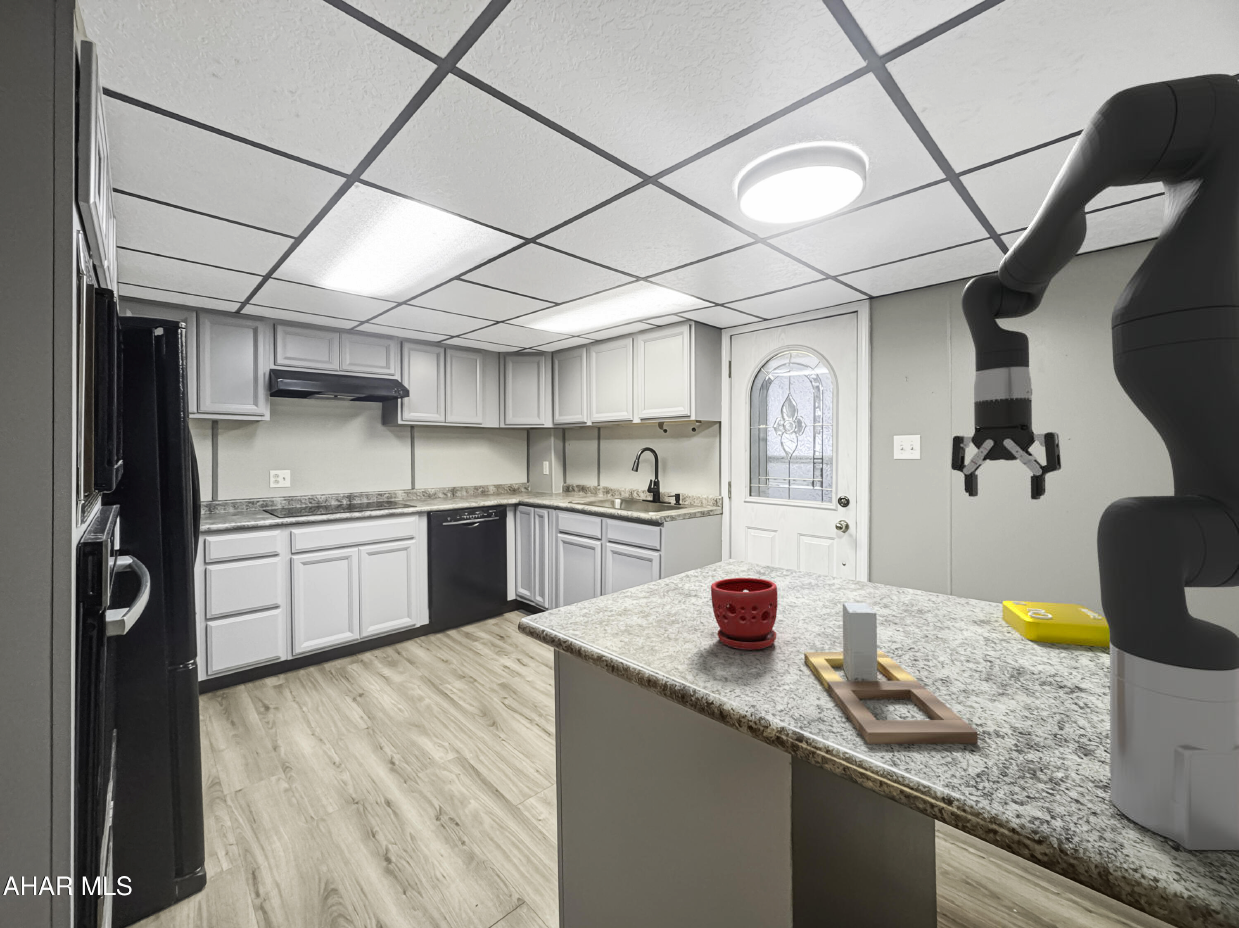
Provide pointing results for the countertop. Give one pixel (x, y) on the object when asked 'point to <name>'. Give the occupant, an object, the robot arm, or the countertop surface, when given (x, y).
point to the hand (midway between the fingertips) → (1003, 497)
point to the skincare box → (859, 642)
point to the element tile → (1057, 623)
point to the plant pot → (745, 612)
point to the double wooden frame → (901, 686)
